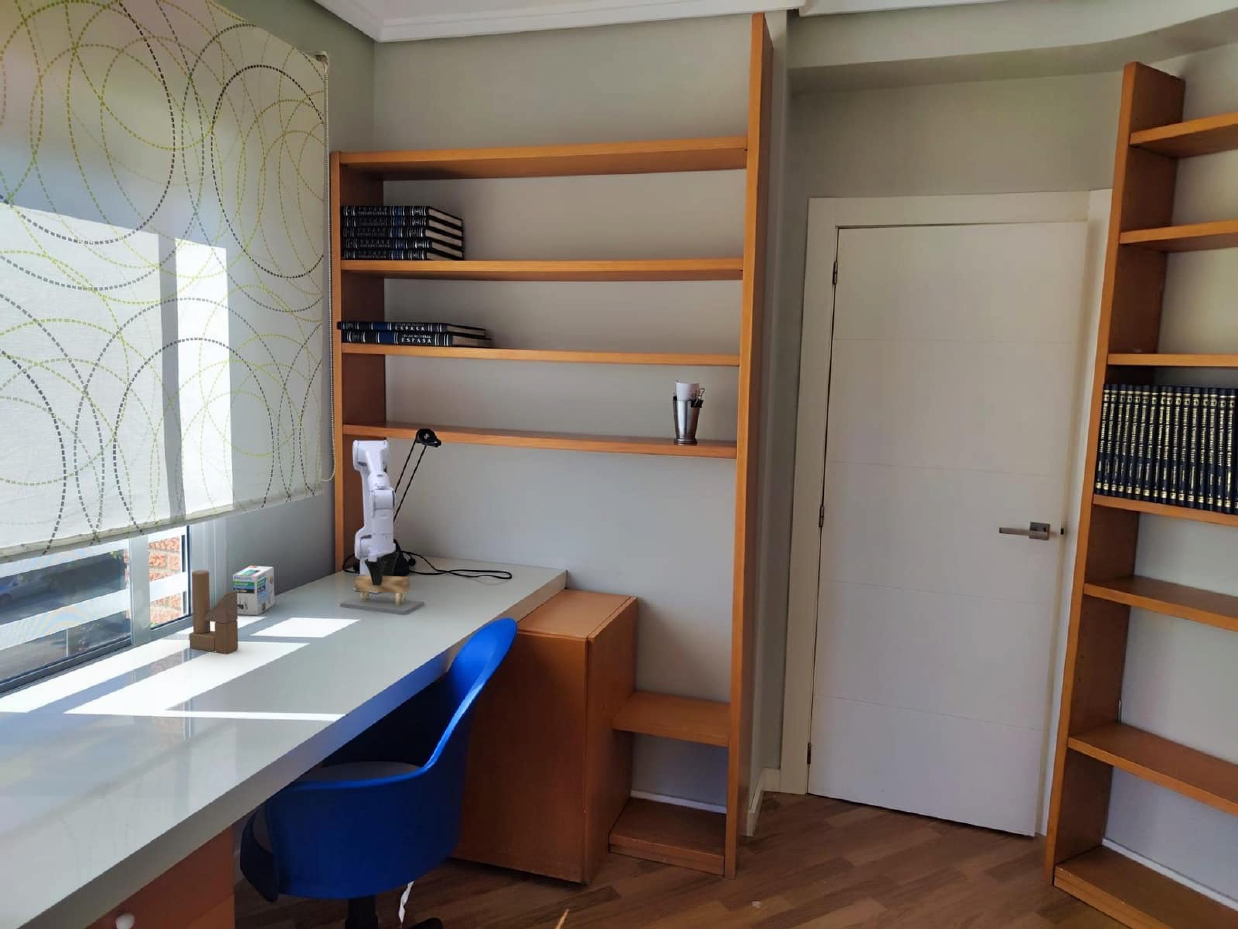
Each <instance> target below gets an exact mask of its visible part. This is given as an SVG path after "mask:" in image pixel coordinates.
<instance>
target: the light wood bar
mask: <svg viewBox="0 0 1238 929" xmlns="http://www.w3.org/2000/svg"><path fill="white" fill-rule="evenodd" d="M410 579H411V577H410V576H409V577H407V576H394V575H392V576H383V577H382V583H381V585H373V583H372V579H371V576H370V575H363V574H361V575H360V574H359V575H358V576H356V577H354V588H355V590H354V591H356V590H358V591H357V592H361V591H374V592H378V593H392V594H393V593H394V594H396V593H404V594H406V593H407V592H408V591H410V588H411V584H410V583H411V580H410Z"/></svg>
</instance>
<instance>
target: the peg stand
mask: <svg viewBox="0 0 1238 929" xmlns="http://www.w3.org/2000/svg"><path fill="white" fill-rule="evenodd" d="M422 605H423V606H424V605H425V602H424V601H422V600H413V599H412V600H411V599H406V598H405V593H395V597H389V596H380V595H375V594H373V595H372V594H370V592H369V591H366V592H364V591H360V594H358V595H356V596H354V597H351V598H348V599H346V600H343V601H342V602H340V604H339V606H341V608H350V609H355V610H356V609H357V610H363V609H364V610H365V611H371V610H372V611H374V612H380V613H386V614H387V613H390V614H394V613H396V614H395V615H402V614H403V615H404V616H406V615H407V613H408V614H410V613H411V612H413V611H415V610H417V609H419V608H421V607H423V606H422ZM420 606H421V607H420ZM403 615H402V616H403Z"/></svg>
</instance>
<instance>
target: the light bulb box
mask: <svg viewBox="0 0 1238 929" xmlns="http://www.w3.org/2000/svg"><path fill="white" fill-rule="evenodd" d="M274 572H275V567H274V566H260V565H249V566H248V567H246V568H243V569H242V570H240V571H239V572H236V573H234V574H232V589H233V590H232V592H233V591H236V590H237V614H238V615H243V616H244V615H247V616H248V615H249V616H259V615H260V614H262V613H264V612H265V611H267V610H268V609H270V608H272V607H273V606H275V573H274Z"/></svg>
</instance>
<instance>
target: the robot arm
mask: <svg viewBox="0 0 1238 929" xmlns="http://www.w3.org/2000/svg"><path fill="white" fill-rule="evenodd" d="M389 457H390V446H389V442H388V441H387V440H386V439H384V440H358V439H357V440H356V439H355V440H354V441H353V443H352V462H353V468H354V470H356V471H358V472H359V473H360V477H361V484H362V505H363V507H362V509H363V527H362V528H360V529H358V531H356V533H355V536H354V556H355V558H356V559H357V560H359V575H361V574H363V575H370V576H371V579H372V583H373V585H381V583H382V577H383V576H393V574H394V569H395V566H396V562H397V559H398V558H399V556H400V552H399V551H396V543H394V511H395V509H396V505H397V504H396V503H397V502H396V492H395V489H394V488H393V487H391V482H390V478H389V475H388V473H387V472H385V471H384V470H385V469H386V467H387V464H388V460H389ZM353 590H354V591H357V592H359V591H358V590H355V587H354V588H353ZM364 593H366V591H364ZM369 593H373V594H378V593H379V592H374V591H369Z"/></svg>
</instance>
